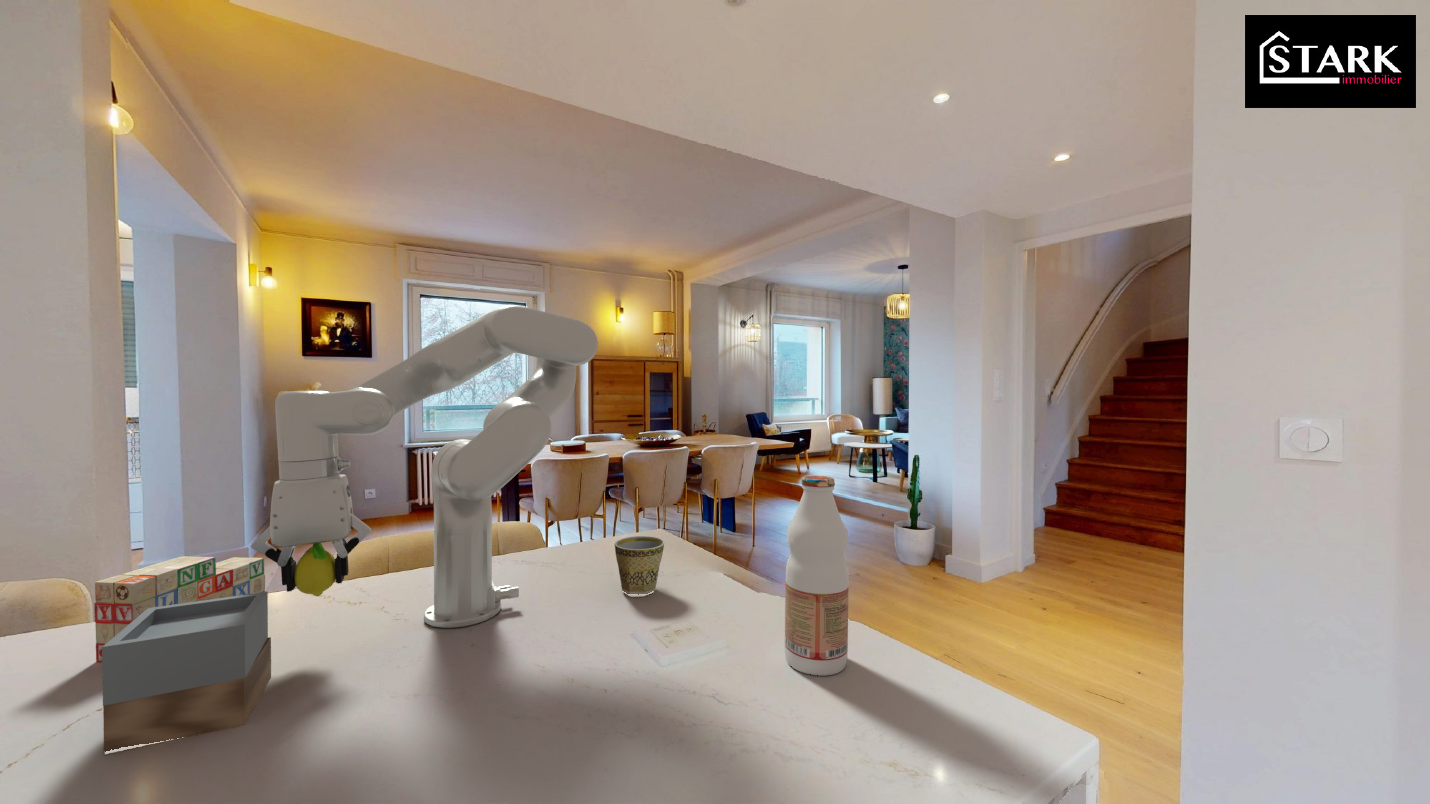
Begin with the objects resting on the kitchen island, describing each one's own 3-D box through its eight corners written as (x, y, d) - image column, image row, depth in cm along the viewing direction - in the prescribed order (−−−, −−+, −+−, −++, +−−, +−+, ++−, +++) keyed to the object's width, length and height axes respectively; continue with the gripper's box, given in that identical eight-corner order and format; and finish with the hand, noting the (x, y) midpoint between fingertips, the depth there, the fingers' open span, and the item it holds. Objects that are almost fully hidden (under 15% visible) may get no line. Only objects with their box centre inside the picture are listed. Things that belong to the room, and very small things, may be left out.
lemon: (329, 602, 82) (325, 538, 81) (285, 607, 80) (281, 541, 80) (349, 586, 88) (345, 526, 88) (308, 590, 87) (305, 529, 87)
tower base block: (271, 679, 75) (270, 637, 75) (244, 727, 65) (244, 677, 65) (154, 701, 70) (153, 655, 70) (103, 757, 59) (103, 703, 59)
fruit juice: (780, 672, 78) (783, 480, 77) (788, 643, 87) (790, 471, 87) (847, 681, 76) (850, 484, 75) (847, 650, 85) (850, 474, 84)
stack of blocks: (235, 605, 100) (234, 540, 100) (266, 607, 100) (265, 541, 100) (94, 663, 79) (93, 580, 79) (133, 665, 79) (132, 582, 78)
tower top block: (267, 637, 75) (267, 591, 75) (245, 677, 65) (244, 624, 65) (148, 657, 69) (148, 608, 69) (102, 705, 59) (102, 647, 59)
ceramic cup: (660, 601, 104) (661, 550, 104) (609, 600, 104) (610, 549, 104) (667, 578, 117) (668, 532, 117) (622, 577, 117) (622, 531, 117)
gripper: (377, 461, 91) (383, 567, 91) (246, 472, 83) (254, 587, 84) (372, 468, 84) (378, 581, 85) (229, 479, 76) (237, 605, 77)
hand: (316, 583), depth 84 cm, fingers closed on lemon, 5 cm apart
